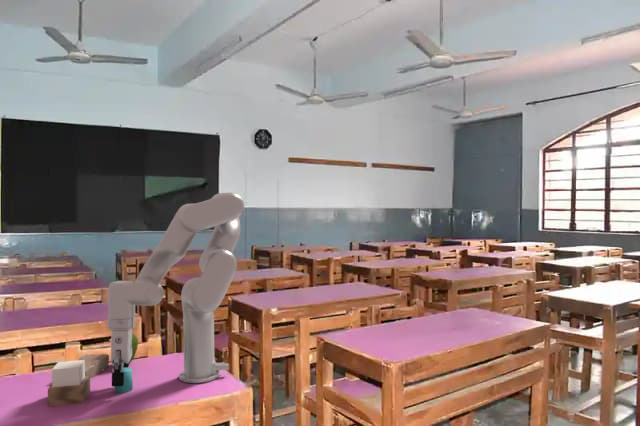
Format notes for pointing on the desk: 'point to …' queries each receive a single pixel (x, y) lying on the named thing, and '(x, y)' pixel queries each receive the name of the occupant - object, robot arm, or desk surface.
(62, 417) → the desk surface
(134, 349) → the green egg shape
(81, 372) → the tower top
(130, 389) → the cylinder
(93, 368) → the brick
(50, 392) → the tower base
